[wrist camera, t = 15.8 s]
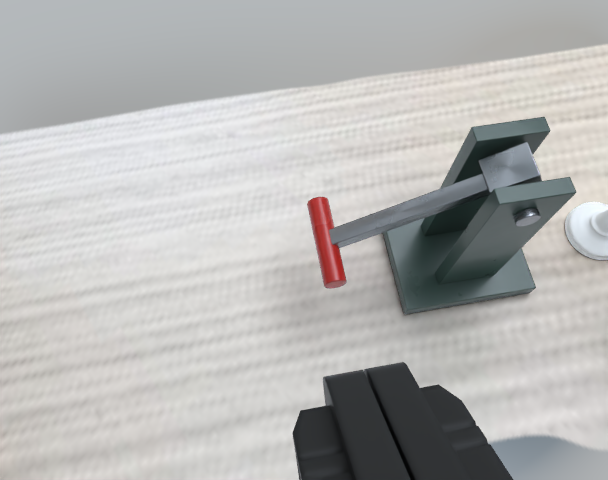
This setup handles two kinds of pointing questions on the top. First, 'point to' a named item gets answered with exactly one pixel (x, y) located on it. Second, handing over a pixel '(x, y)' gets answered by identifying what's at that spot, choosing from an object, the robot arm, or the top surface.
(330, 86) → the top surface
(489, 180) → the lever
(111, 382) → the top surface
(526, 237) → the bracket
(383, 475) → the robot arm
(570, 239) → the chess piece
